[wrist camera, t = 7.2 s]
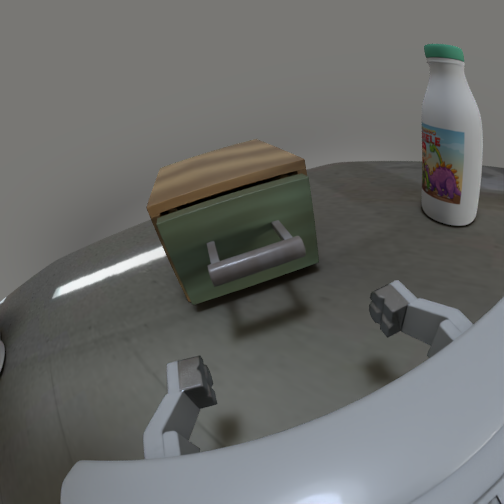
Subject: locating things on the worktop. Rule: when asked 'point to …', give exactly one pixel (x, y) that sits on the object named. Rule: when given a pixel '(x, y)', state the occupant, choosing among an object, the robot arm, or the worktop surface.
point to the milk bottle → (450, 140)
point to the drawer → (241, 236)
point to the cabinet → (217, 177)
